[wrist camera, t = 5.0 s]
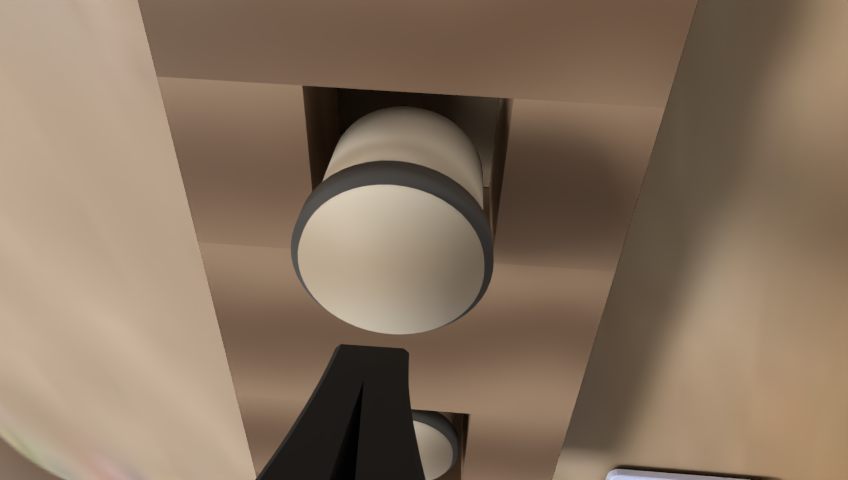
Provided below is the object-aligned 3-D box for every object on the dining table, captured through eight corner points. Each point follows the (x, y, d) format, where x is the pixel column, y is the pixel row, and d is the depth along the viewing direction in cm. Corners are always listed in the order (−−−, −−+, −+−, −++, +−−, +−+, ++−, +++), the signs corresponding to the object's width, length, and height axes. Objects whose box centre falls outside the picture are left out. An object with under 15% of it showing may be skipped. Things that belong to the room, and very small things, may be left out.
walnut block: (530, 445, 29) (537, 526, 26) (286, 425, 29) (263, 503, 26) (653, -48, 15) (699, -5, 12) (198, -73, 16) (128, -37, 13)
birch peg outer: (482, 247, 17) (483, 347, 14) (329, 236, 17) (298, 333, 14) (499, 104, 14) (505, 189, 11) (318, 93, 14) (276, 174, 11)
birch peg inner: (456, 412, 27) (453, 491, 24) (359, 404, 27) (345, 482, 24) (463, 345, 24) (461, 425, 21) (356, 337, 24) (339, 414, 21)
